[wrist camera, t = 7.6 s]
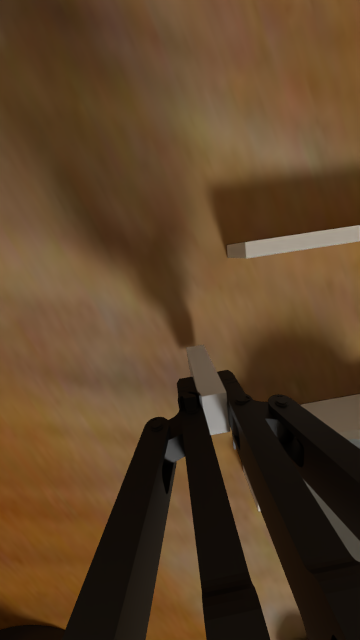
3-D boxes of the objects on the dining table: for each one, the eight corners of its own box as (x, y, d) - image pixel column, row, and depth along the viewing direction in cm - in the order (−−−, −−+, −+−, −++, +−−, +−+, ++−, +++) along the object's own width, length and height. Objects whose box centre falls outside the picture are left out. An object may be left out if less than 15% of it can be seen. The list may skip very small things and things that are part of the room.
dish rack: (243, 472, 25) (258, 511, 21) (226, 244, 17) (245, 242, 14) (383, 445, 25) (422, 478, 22) (424, 215, 18) (495, 204, 14)
